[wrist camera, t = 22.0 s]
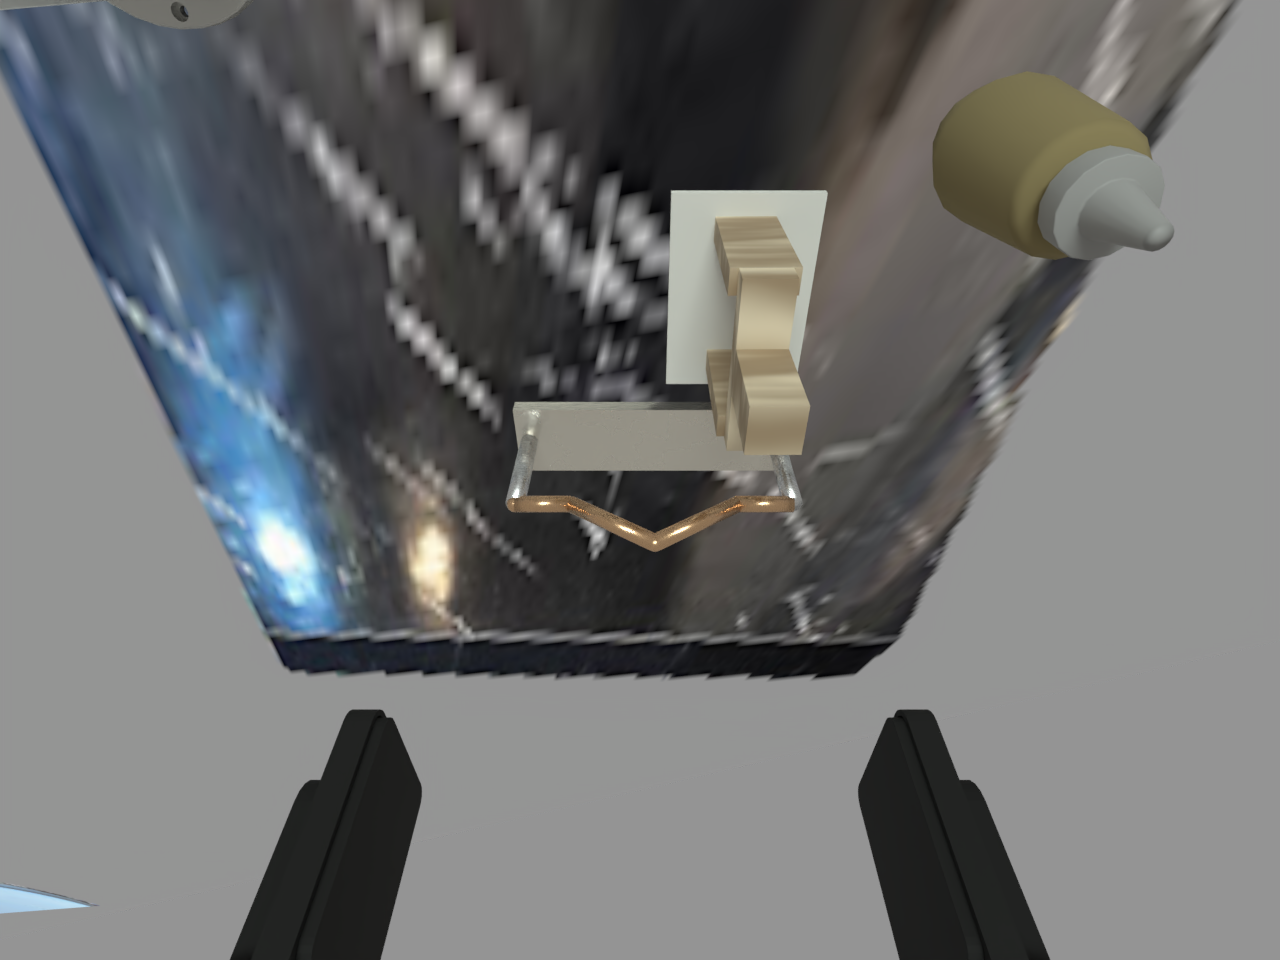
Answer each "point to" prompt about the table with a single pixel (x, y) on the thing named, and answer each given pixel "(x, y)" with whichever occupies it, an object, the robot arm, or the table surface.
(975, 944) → the robot arm
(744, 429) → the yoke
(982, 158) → the squeeze bottle
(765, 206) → the pad
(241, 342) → the table surface
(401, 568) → the table surface
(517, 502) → the wire
